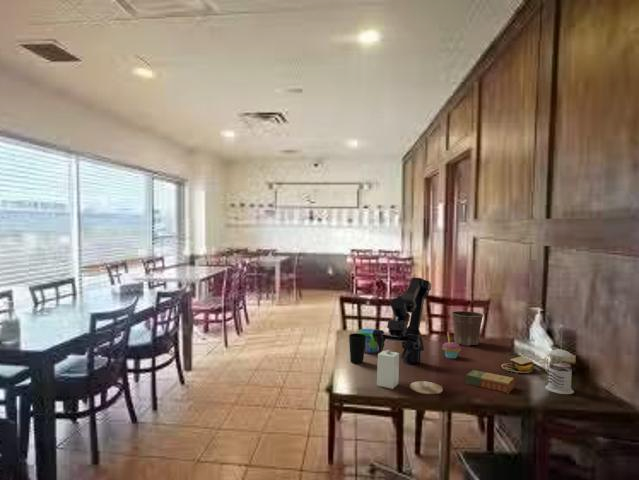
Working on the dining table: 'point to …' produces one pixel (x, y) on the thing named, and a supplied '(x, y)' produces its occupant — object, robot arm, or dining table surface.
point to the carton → (490, 381)
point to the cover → (388, 369)
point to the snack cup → (369, 341)
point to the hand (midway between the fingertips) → (390, 356)
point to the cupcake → (451, 348)
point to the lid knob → (426, 384)
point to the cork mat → (432, 390)
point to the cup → (357, 347)
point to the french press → (559, 372)
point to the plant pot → (467, 327)
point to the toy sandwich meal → (519, 365)
